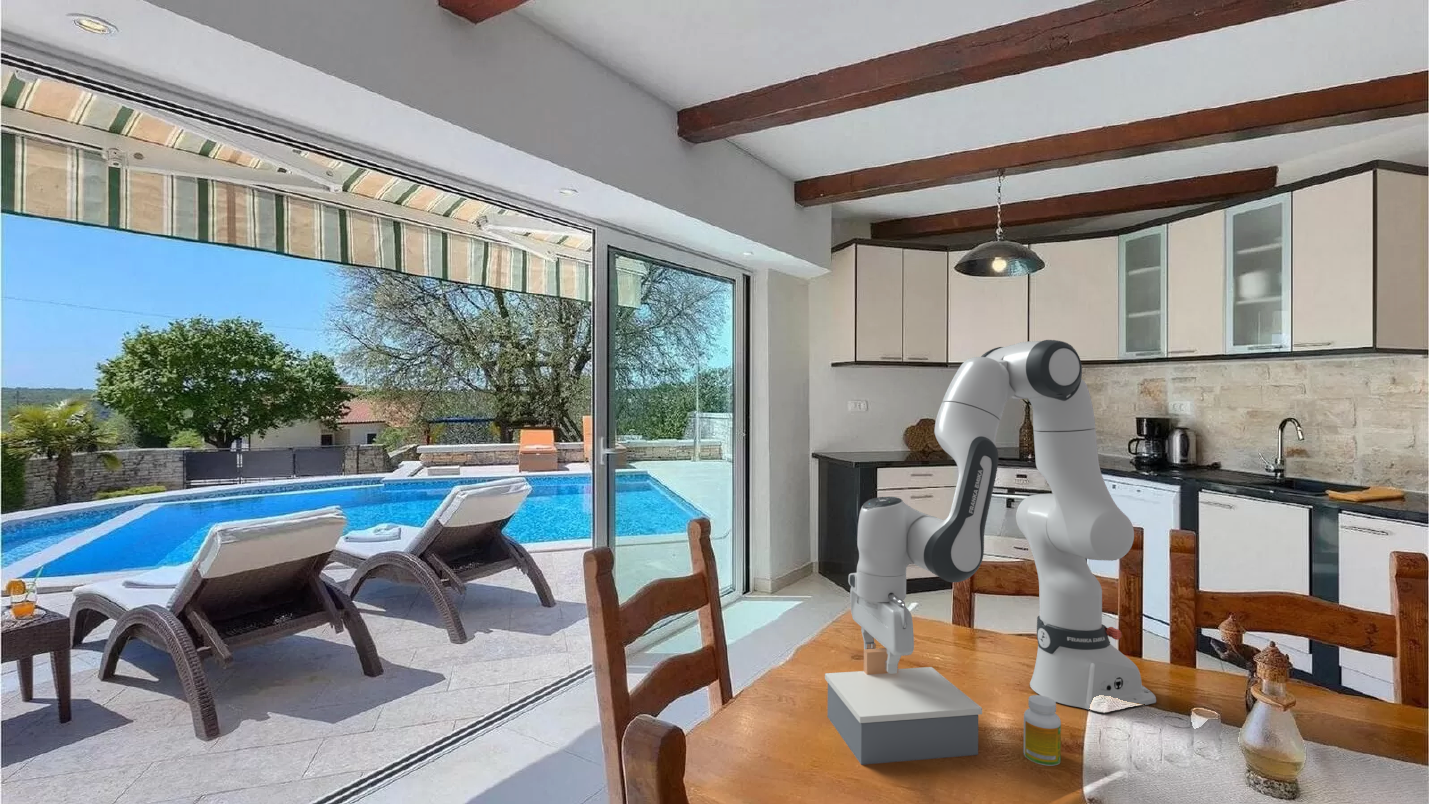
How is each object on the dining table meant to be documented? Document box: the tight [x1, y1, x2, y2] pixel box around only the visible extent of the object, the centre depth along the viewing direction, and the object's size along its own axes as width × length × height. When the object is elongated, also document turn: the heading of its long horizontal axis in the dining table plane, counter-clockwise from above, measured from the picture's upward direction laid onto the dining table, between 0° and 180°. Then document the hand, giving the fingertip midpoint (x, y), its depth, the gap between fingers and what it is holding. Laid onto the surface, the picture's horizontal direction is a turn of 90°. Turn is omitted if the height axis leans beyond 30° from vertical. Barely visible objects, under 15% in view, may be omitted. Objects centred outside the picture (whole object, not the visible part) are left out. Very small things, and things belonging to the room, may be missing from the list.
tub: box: [827, 682, 979, 766], centre depth 113 cm, size 20×16×7 cm
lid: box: [824, 647, 983, 723], centre depth 113 cm, size 21×17×5 cm
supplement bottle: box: [1023, 694, 1062, 767], centre depth 106 cm, size 5×5×10 cm
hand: (879, 661), depth 120 cm, fingers open, 8 cm apart
